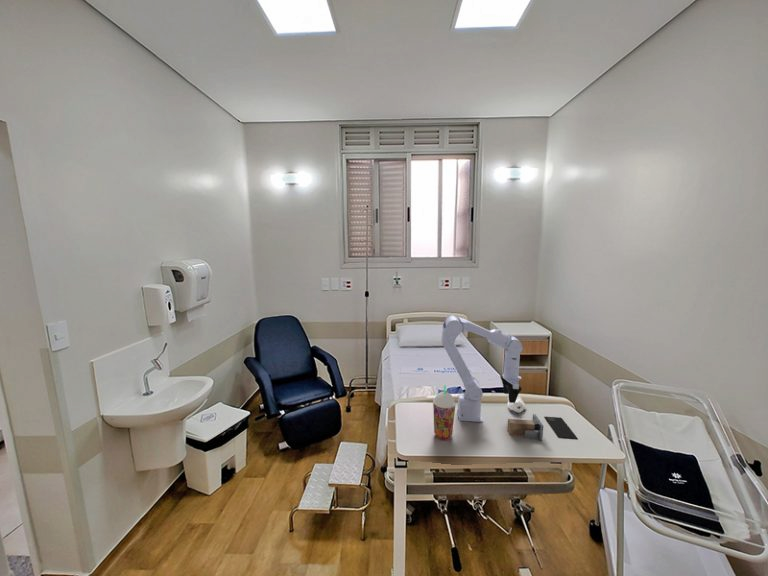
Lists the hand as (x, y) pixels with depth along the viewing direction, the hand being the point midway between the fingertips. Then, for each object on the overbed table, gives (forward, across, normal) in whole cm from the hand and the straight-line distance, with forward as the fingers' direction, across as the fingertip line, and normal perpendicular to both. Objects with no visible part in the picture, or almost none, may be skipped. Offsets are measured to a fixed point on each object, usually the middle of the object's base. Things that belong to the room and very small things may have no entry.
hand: (509, 397), depth 131 cm
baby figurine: (+10, +10, -6) cm, 15 cm away
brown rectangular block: (+10, -10, -2) cm, 14 cm away
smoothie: (+10, -15, +28) cm, 33 cm away
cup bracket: (+9, -10, -5) cm, 15 cm away
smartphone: (+10, -4, -19) cm, 22 cm away
